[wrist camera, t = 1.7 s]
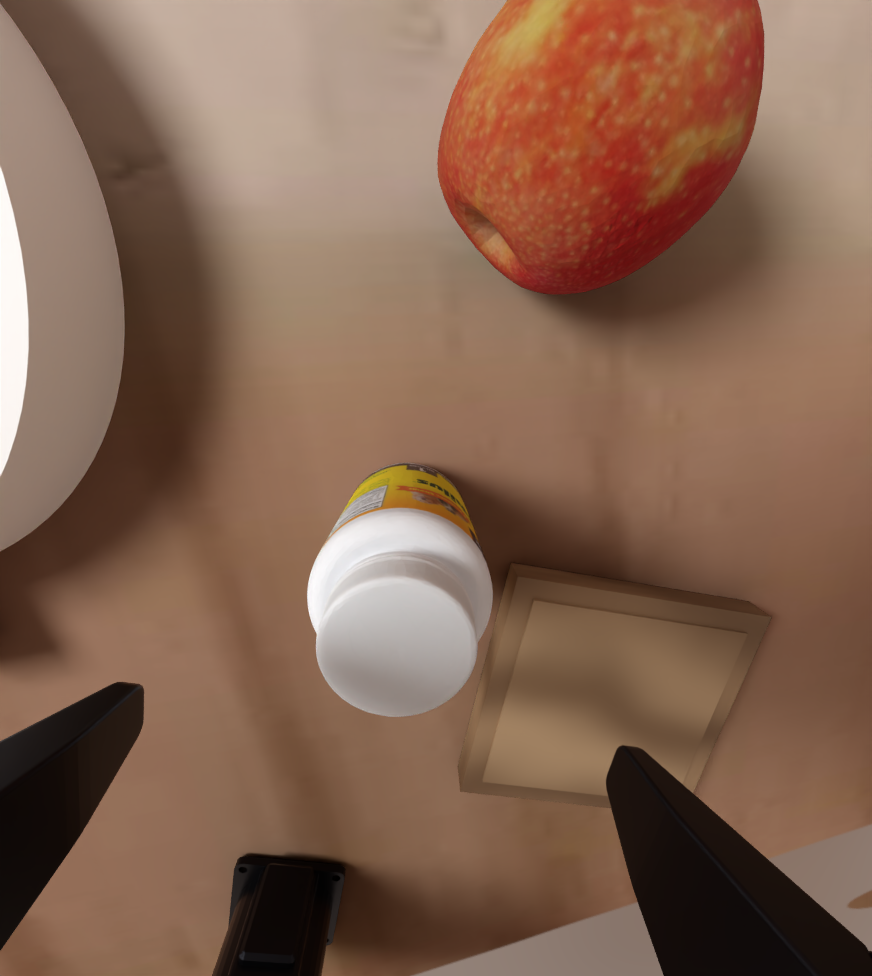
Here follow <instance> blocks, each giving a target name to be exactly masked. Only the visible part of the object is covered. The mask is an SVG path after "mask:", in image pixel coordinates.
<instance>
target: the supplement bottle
mask: <svg viewBox="0 0 872 976" xmlns="http://www.w3.org/2000/svg"><path fill="white" fill-rule="evenodd" d="M307 601H308V610H309V615H310V618H311V622H312V624H313V627H314V629H315V631H316V633H317V638H316V655H317V660H318V664H319V667H320V670H321V672H322V674H323V676H324V678H325V680H326V681H327V683H328V684H329V685H330V687H331V688H332V689H333V690H334V691H335V692H336V693H337V694H338V695H339V696H340V697H341V698H342V699H343V700H345V701H346V702H348V703H349V704H351V705H352V706H354V707H357V708H359V709H361V710H363V711H366V712H369V713H373V714H377V715H383V716H389V717H402V716H411V715H416V714H421V713H424V712H427V711H429V710H432V709H434V708H436V707H438V706H440V705H442V704H443V703H445V702H446V701H448V700H449V699H451V698H452V697H453V696H454V695H455V694H456V693H457V692H458V691H459V690H460V689H461V688H462V687H463V685H464V684H465V683H466V681H467V680H468V678H469V676H470V674H471V672H472V670H473V668H474V665H475V662H476V657H477V649H478V641H479V640H480V638H481V636H482V635H483V633H484V631H485V629H486V626H487V624H488V621H489V618H490V614H491V609H492V601H493V590H492V582H491V577H490V573H489V569H488V566H487V563H486V560H485V557H484V555H483V552H482V549H481V547H480V544H479V542H478V539H477V536H476V533H475V531H474V528H473V525H472V523H471V520H470V517H469V515H468V512H467V509H466V506H465V504H464V502H463V499H462V497H461V495H460V493H459V492H458V490H457V489H456V487H455V486H454V485H453V483H452V482H451V481H450V480H449V479H448V478H446V477H445V476H444V475H443V474H441V473H440V472H438V471H436V470H434V469H432V468H430V467H427V466H424V465H420V464H415V463H398V464H393V465H389V466H386V467H383V468H381V469H379V470H377V471H375V472H374V473H372V474H371V475H369V476H368V477H367V478H366V479H365V480H364V481H363V482H362V483H361V484H360V485H359V486H358V488H357V489H356V490H355V492H354V494H353V495H352V497H351V499H350V501H349V502H348V504H347V506H346V507H345V509H344V511H343V513H342V514H341V516H340V518H339V519H338V521H337V523H336V525H335V526H334V528H333V530H332V532H331V533H330V535H329V537H328V539H327V540H326V542H325V544H324V545H323V547H322V549H321V551H320V552H319V554H318V556H317V558H316V560H315V563H314V565H313V568H312V571H311V574H310V578H309V583H308V592H307Z"/></svg>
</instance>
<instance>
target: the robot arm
mask: <svg viewBox="0 0 872 976" xmlns="http://www.w3.org/2000/svg"><path fill="white" fill-rule="evenodd" d="M143 718H144V689H143V687H142V685H140V684H135V683H127V682H116V683H114V684H111V685H109V686H107V687H105V688H103V689H102V690H100V691H98V692H96V693H94V694H92V695H90V696H88V697H86V698H84V699H82V700H80V701H78V702H76V703H74V704H72V705H70V706H68V707H66V708H64V709H62V710H61V711H59V712H57V713H55V714H53V715H51V716H49V717H47V718H45V719H43V720H41V721H39V722H37V723H35V724H33V725H31V726H29V727H27V728H25V729H23V730H21V731H20V732H18V733H16V734H14V735H12V736H10V737H8V738H6V739H4V740H2V741H0V950H1V949H2V948H3V946H4V945H5V943H6V942H7V940H8V939H9V938H10V936H11V935H12V933H13V932H14V930H15V929H16V928H17V926H18V925H19V923H20V922H21V920H22V919H23V917H24V916H25V915H26V913H27V912H28V910H29V909H30V907H31V906H32V905H33V903H34V902H35V900H36V899H37V897H38V896H39V895H40V893H41V892H42V890H43V889H44V887H45V886H46V884H47V883H48V882H49V880H50V879H51V877H52V876H53V874H54V873H55V872H56V870H57V869H58V867H59V866H60V864H61V863H62V861H63V860H64V859H65V857H66V856H67V854H68V853H69V851H70V850H71V848H72V847H73V845H74V844H75V842H76V841H77V839H78V838H79V836H80V835H81V833H82V832H83V830H84V828H85V827H86V825H87V823H88V822H89V820H90V819H91V817H92V815H93V813H94V812H95V810H96V808H97V807H98V805H99V803H100V801H101V800H102V798H103V796H104V795H105V793H106V791H107V789H108V788H109V786H110V784H111V783H112V781H113V779H114V777H115V776H116V774H117V772H118V770H119V769H120V767H121V765H122V764H123V762H124V760H125V758H126V757H127V755H128V753H129V752H130V750H131V748H132V746H133V745H134V743H135V741H136V740H137V738H138V736H139V734H140V732H141V729H142V726H143ZM606 790H607V794H608V798H609V801H610V805H611V809H612V813H613V816H614V820H615V824H616V828H617V831H618V835H619V839H620V843H621V846H622V850H623V854H624V858H625V861H626V865H627V869H628V872H629V876H630V879H631V882H632V886H633V889H634V892H635V895H636V898H637V901H638V904H639V907H640V910H641V912H642V915H643V918H644V921H645V924H646V926H647V929H648V932H649V935H650V938H651V941H652V944H653V946H654V949H655V952H656V955H657V958H658V961H659V963H660V966H661V969H662V972H663V975H664V976H872V951H868V949H867V947H866V946H865V945H864V944H863V943H862V942H861V941H860V940H859V939H857V938H856V937H855V936H854V935H853V934H852V933H851V932H850V931H848V930H847V929H846V928H845V927H844V926H843V925H842V924H841V923H839V922H838V921H837V920H836V919H835V918H834V917H833V916H831V915H830V914H829V913H828V912H827V911H826V910H825V909H824V908H822V907H821V906H820V905H819V904H818V903H816V902H815V901H814V900H813V899H812V898H811V897H810V896H809V895H808V894H807V893H805V892H804V891H803V890H802V889H801V888H800V887H799V886H797V885H796V884H795V883H794V882H793V881H792V880H791V879H790V878H788V877H787V876H786V875H785V874H784V873H783V872H782V871H780V870H779V869H778V868H777V867H776V866H775V865H774V864H772V863H771V862H770V861H769V860H768V859H767V858H766V857H765V856H763V855H762V854H761V853H760V852H759V851H758V850H757V849H755V848H754V847H753V846H752V845H751V844H750V843H749V842H748V841H746V840H745V839H744V838H743V837H742V836H741V835H740V834H738V833H737V832H736V831H735V830H734V829H733V828H732V827H731V826H729V825H728V824H727V823H726V822H725V821H724V820H723V819H721V818H720V817H719V816H718V815H717V814H716V813H715V812H714V811H712V810H711V809H710V808H709V807H708V806H707V805H706V804H704V803H703V802H702V801H701V800H700V799H699V798H698V797H696V796H695V795H694V794H693V793H692V792H691V791H690V790H689V789H687V788H686V787H685V786H684V785H683V784H682V783H681V782H679V781H678V780H677V779H676V778H675V777H674V776H673V775H672V774H670V773H669V772H668V771H667V770H666V769H665V768H664V767H662V766H661V765H660V764H659V763H658V762H657V761H656V760H655V759H653V758H652V757H651V756H650V755H649V754H648V753H647V752H645V751H644V750H643V749H641V748H639V747H634V746H626V745H621V746H619V747H618V748H617V750H616V752H615V755H614V757H613V760H612V763H611V765H610V768H609V770H608V773H607V776H606ZM344 878H345V868H344V867H343V866H341V865H336V864H325V863H314V862H303V861H292V860H281V859H270V858H259V857H249V856H243V857H240V858H239V859H238V860H237V863H236V866H235V868H234V876H233V887H232V897H231V907H230V917H229V928H228V931H227V933H226V936H225V939H224V942H223V945H222V948H221V951H220V954H219V957H218V960H217V963H216V965H215V968H214V971H213V974H212V976H321V975H322V968H323V962H324V956H325V950H326V945H330V944H331V943H332V941H333V936H334V931H335V926H336V921H337V915H338V910H339V905H340V900H341V894H342V889H343V884H344Z"/></svg>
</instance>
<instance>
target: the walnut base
mask: <svg viewBox="0 0 872 976" xmlns="http://www.w3.org/2000/svg"><path fill="white" fill-rule="evenodd" d="M771 618H772V617H771V616H769V615H768V614H766V613H765V612H763V611H762V610H760V609H759V608H757V607H756V606H754V605H753V604H751V603H750V602H749V601H743V600H737V599H731V598H725V597H718V596H712V595H706V594H700V593H694V592H688V591H682V590H676V589H669V588H663V587H657V586H651V585H645V584H639V583H633V582H627V581H621V580H614V579H608V578H602V577H596V576H590V575H584V574H578V573H572V572H566V571H559V570H553V569H547V568H541V567H535V566H529V565H523V564H517V563H511V564H510V568H509V572H508V576H507V579H506V583H505V587H504V591H503V595H502V599H501V602H500V606H499V610H498V614H497V618H496V622H495V626H494V629H493V633H492V637H491V641H490V645H489V649H488V652H487V656H486V660H485V664H484V668H483V672H482V675H481V679H480V683H479V687H478V691H477V695H476V698H475V702H474V706H473V710H472V714H471V718H470V722H469V725H468V729H467V733H466V737H465V741H464V745H463V748H462V752H461V756H460V760H459V764H458V773H459V783H460V792H469V793H478V794H487V795H496V796H505V797H514V798H523V799H532V800H541V801H550V802H559V803H568V804H577V805H586V806H595V807H604V808H611V805H610V801H609V798H608V794H607V790H606V776H607V773H608V770H609V768H610V765H611V763H612V760H613V757H614V755H615V752H616V750H617V748H618V747H619V746H621V745H626V746H634V747H639V748H641V749H643V750H644V751H645V752H647V753H648V754H649V755H650V756H651V757H652V758H653V759H655V760H656V761H657V762H658V763H659V764H660V765H661V766H662V767H664V768H665V769H666V770H667V771H668V772H669V773H670V774H672V775H673V776H674V777H675V778H676V779H677V780H678V781H679V782H681V783H682V784H683V785H684V786H685V787H686V788H687V789H689V790H690V791H691V792H692V793H693V792H694V790H695V787H696V785H697V783H698V781H699V779H700V776H701V774H702V772H703V770H704V767H705V765H706V763H707V761H708V758H709V756H710V754H711V752H712V750H713V747H714V745H715V743H716V741H717V738H718V736H719V734H720V732H721V730H722V727H723V725H724V723H725V721H726V718H727V716H728V714H729V712H730V709H731V707H732V705H733V703H734V701H735V698H736V696H737V694H738V692H739V689H740V687H741V685H742V683H743V681H744V678H745V676H746V674H747V672H748V669H749V667H750V665H751V663H752V660H753V658H754V656H755V654H756V652H757V649H758V647H759V645H760V643H761V640H762V638H763V636H764V634H765V631H766V629H767V627H768V625H769V623H770V620H771Z"/></svg>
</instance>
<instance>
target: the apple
mask: <svg viewBox="0 0 872 976" xmlns="http://www.w3.org/2000/svg"><path fill="white" fill-rule="evenodd" d="M763 68H764V30H763V23H762V17H761V11H760V7H759V4H758V1H757V0H507V2H506V3H505V5H504V6H503V7H502V9H501V10H500V12H499V13H498V14H497V16H496V17H495V18H494V20H493V21H492V22H491V24H490V25H489V26H488V28H487V29H486V31H485V32H484V34H483V35H482V37H481V38H480V40H479V41H478V42H477V44H476V46H475V48H474V50H473V52H472V54H471V56H470V58H469V59H468V61H467V63H466V65H465V67H464V69H463V72H462V74H461V76H460V78H459V80H458V83H457V85H456V87H455V89H454V92H453V94H452V97H451V100H450V103H449V106H448V109H447V113H446V116H445V120H444V124H443V127H442V131H441V136H440V142H439V150H438V178H439V182H440V186H441V189H442V192H443V195H444V198H445V200H446V203H447V205H448V207H449V209H450V212H451V214H452V215H453V217H454V218H455V220H456V221H457V223H458V224H459V226H460V227H461V229H462V230H463V231H464V233H465V234H466V235H467V237H468V238H469V239H470V240H471V242H472V243H473V244H474V246H475V247H476V248H477V249H478V250H479V251H480V252H481V253H482V254H483V256H484V257H485V258H486V259H487V260H488V261H489V262H490V263H491V264H492V265H493V266H494V267H495V268H496V269H497V270H498V271H500V272H501V273H502V274H503V275H504V276H506V277H507V278H508V279H510V280H512V281H513V282H514V283H516V284H517V285H519V286H521V287H523V288H526V289H529V290H532V291H535V292H540V293H544V294H571V293H581V292H586V291H590V290H593V289H596V288H599V287H602V286H605V285H608V284H611V283H613V282H615V281H618V280H620V279H622V278H624V277H626V276H628V275H629V274H631V273H633V272H634V271H636V270H638V269H639V268H641V267H643V266H644V265H646V264H647V263H649V262H650V261H651V260H653V259H654V258H656V257H657V256H659V255H660V254H661V253H663V252H664V251H665V250H666V249H668V248H669V247H670V246H671V245H672V244H674V243H675V242H676V241H677V240H678V239H680V238H681V237H682V236H683V235H684V234H685V233H686V232H687V231H688V230H689V229H690V228H691V227H692V226H693V225H694V224H695V223H696V222H697V221H698V220H699V219H700V218H701V217H702V216H703V215H704V214H705V213H706V212H707V211H708V210H709V209H710V208H711V207H712V205H713V204H714V203H715V201H716V200H717V199H718V198H719V196H720V195H721V194H722V192H723V191H724V190H725V188H726V187H727V185H728V184H729V182H730V181H731V179H732V177H733V176H734V174H735V172H736V170H737V168H738V166H739V164H740V162H741V159H742V157H743V155H744V153H745V151H746V149H747V147H748V144H749V142H750V139H751V136H752V133H753V130H754V126H755V122H756V116H757V110H758V105H759V100H760V94H761V89H762V79H763Z"/></svg>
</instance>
